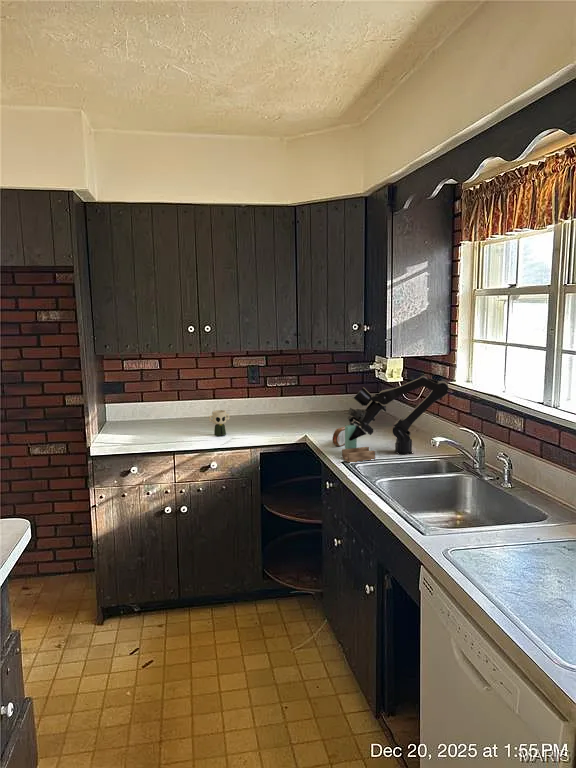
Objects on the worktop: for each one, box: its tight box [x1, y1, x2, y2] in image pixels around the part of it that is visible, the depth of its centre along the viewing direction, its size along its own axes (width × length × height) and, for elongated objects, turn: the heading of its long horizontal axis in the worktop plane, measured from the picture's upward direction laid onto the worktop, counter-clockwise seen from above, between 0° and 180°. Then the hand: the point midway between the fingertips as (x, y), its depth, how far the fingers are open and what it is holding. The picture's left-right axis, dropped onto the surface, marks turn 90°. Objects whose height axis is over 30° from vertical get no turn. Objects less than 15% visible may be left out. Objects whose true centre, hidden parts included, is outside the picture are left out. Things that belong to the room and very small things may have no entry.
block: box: [344, 424, 358, 449], centre depth 258 cm, size 4×4×13 cm
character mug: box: [208, 409, 230, 437], centre depth 301 cm, size 11×7×13 cm, turn 112°
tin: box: [332, 425, 345, 447], centre depth 275 cm, size 15×3×8 cm, turn 141°
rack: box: [341, 446, 376, 463], centre depth 250 cm, size 12×8×4 cm
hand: (347, 439), depth 257 cm, fingers closed on block, 4 cm apart
